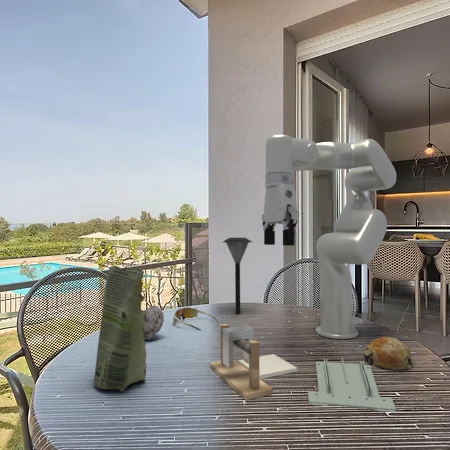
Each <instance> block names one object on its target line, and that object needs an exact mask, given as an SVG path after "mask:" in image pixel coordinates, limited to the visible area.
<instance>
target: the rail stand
mask: <svg viewBox="0 0 450 450" xmlns="http://www.w3.org/2000/svg"><path fill="white" fill-rule="evenodd" d="M223 328H230V325H229V324H227V323H223V324H221V323H220V360H217V361H212V362H209V367H210V369H212V371H214V372H215V373H216V374H217V375H218V376H219V377H220V378H221V379H222V380H224V381H225V382H226V383H227V384H228V386H229V387H231V389H233V390H234V391H235V392H236V393H237V394H239V395H240V397H241V398H243V399H244V400H245V401H248V400H253V399H256V398H262V397H266V396H269V395H273V394H274V393H273V392H274V389H273V388H272V387H271V386H270V385H269V384H267V383H266V382H265V381H263V379H259V356H260V342H259V341H257V340H254V341H249V343H247V342H246V341H244V340H236V341H234V346H236V347H237V348H239V349H241V350H243V351H245V352H246V353H248V354H249V371H248V370H247V369H246V368H244V367H243V366H242V365H241V364H239V363H238V361H236V359H234V367H232V368H228V367H227V366H226V365H224V364H223Z"/></svg>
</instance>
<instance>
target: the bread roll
mask: <svg viewBox="0 0 450 450" xmlns="http://www.w3.org/2000/svg"><path fill="white" fill-rule="evenodd" d="M363 358H365V359H366V360H367V362H368V363H370V364H371V365H372V366H375V367H379V368H381V369H384V370H391V371H392V370H393V371H404V370H411V368H412V365H411V364H412V354H411V351H410V349H409V347H408V346H407V345H406V344H405V343H404V342H402V341H400V340H399V339H398V338H395V337H391V336H382V337H378V338H375V339H372V341H371V342H369V344H368V345H366V346H365V350H364V354H363Z"/></svg>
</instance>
